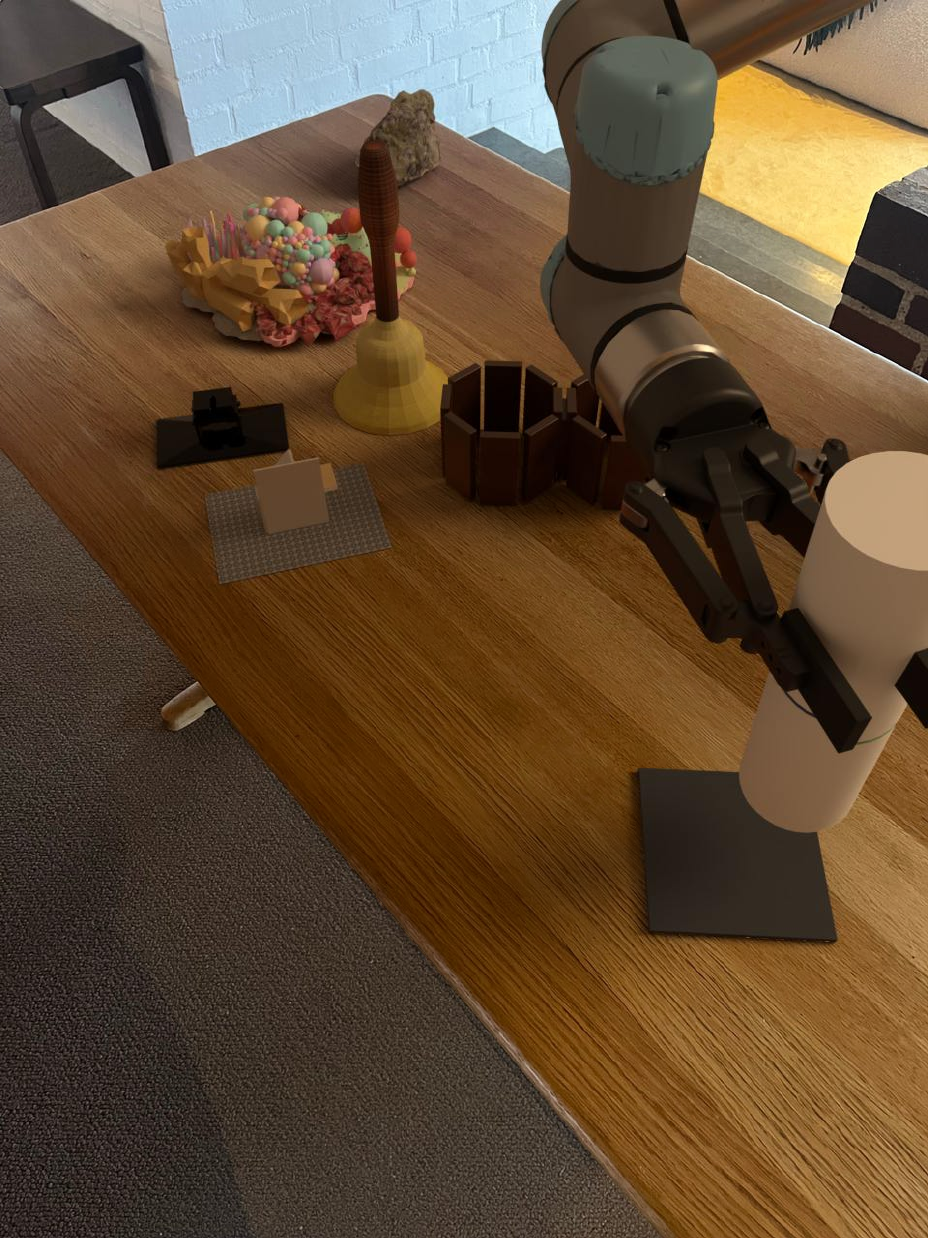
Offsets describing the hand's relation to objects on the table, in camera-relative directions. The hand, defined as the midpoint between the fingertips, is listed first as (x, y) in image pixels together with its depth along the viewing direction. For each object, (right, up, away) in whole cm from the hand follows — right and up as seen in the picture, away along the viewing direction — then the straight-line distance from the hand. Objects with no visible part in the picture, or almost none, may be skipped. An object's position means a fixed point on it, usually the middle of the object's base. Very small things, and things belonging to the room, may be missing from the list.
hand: (899, 722), depth 43 cm
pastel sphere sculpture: (-39, +43, +66) cm, 87 cm away
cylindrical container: (+2, -6, +18) cm, 19 cm away
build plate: (-43, +22, +50) cm, 70 cm away
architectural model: (-35, +13, +43) cm, 56 cm away
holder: (-11, +19, +46) cm, 51 cm away
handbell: (-27, +27, +54) cm, 66 cm away
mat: (-1, -11, +22) cm, 25 cm away
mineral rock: (-28, +62, +82) cm, 107 cm away
